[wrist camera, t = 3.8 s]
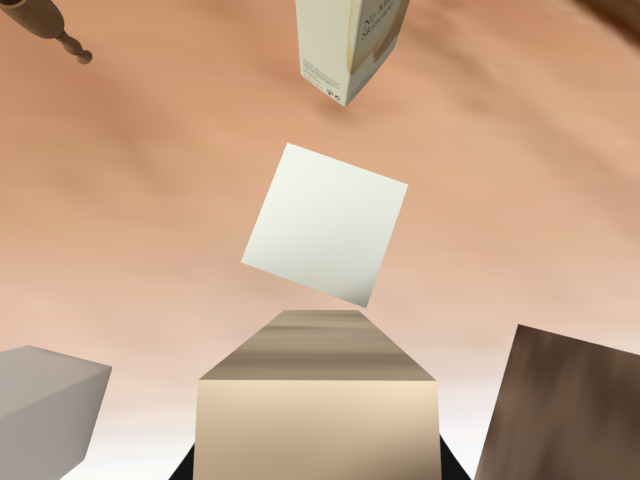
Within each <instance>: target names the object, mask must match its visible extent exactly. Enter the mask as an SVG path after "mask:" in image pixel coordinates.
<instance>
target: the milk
mask: <svg viewBox="0 0 640 480" xmlns="http://www.w3.org/2000/svg"><path fill="white" fill-rule="evenodd" d="M111 371H112V366H108V365H104V364H100V363H97V362H93V361H89V360H85V359H81V358H77V357H73V356H69V355H65V354H61V353H57V352H54V351H50V350H46V349H42V348H38V347H34V346H30V345H27V346H22V347H18V348H14V349H10V350H6V351H2V352H0V480H60V479H61V478H62V477H64V476H65V475H66V474H67V473H69V472H70V471H71V470H72V469H74V468H75V467H76V466H77V465H79V464H80V463H81V462H82V461H83V460H84V459H85V456H86V453H87V450H88V447H89V443H90V440H91V437H92V433H93V430H94V427H95V424H96V420H97V417H98V414H99V410H100V407H101V404H102V401H103V397H104V394H105V391H106V387H107V384H108V381H109V378H110V374H111Z"/></svg>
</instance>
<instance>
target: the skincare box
mask: <svg viewBox="0 0 640 480" xmlns="http://www.w3.org/2000/svg"><path fill="white" fill-rule="evenodd" d="M409 2H410V0H296V15H297V28H298V42H299V56H300V69H301V75H302V76H303V77H304V78H306V79H307V80H308V81H309V82H311V83H312V84H313V85H315V86H316V87H317V88H318V89H320V90H321V91H323V92H324V93H325V94H327V95H328V96H329V97H331V98H332V99H334V100H335V101H337V102H338V103H340V104H341V105H343V106H347V105H348V104H349V103H350V102H351V101H352V100H353V99H354V98H355V97H356V95H357V94H358V93H359V92H360V91H361V90H362V88H363V87H364V86H365V85H366V84H367V83H368V81H369V80H370V79H371V78H372V77H373V75H374V74H375V73H376V72H377V70H378V69H379V68H380V66H381V65H382V64H383V63H384V61H385V60H386V59H387V57H388V56H389V55H390V53H391V52H392V51H393V49H394V48H395V45H396V42H397V39H398V36H399V32H400V29H401V26H402V23H403V20H404V17H405V14H406V11H407V8H408V5H409Z"/></svg>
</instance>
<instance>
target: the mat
mask: <svg viewBox="0 0 640 480" xmlns="http://www.w3.org/2000/svg"><path fill="white" fill-rule="evenodd" d="M407 187H408V184H405V183H402V182H399V181H396V180H394V179H391V178H388V177H385V176H382V175H379V174H376V173H373V172H371V171H368V170H365V169H362V168H359V167H356V166H353V165H351V164H348V163H345V162H342V161H339V160H336V159H333V158H331V157H328V156H325V155H322V154H319V153H316V152H313V151H311V150H308V149H305V148H302V147H299V146H296V145H293V144H290V143H288V142H287V145H286V147H285V150H284V152H283V155H282V157H281V160H280V163H279V165H278V168H277V170H276V173H275V175H274V178H273V180H272V183H271V186H270V188H269V191H268V193H267V196H266V198H265V201H264V203H263V206H262V209H261V211H260V214H259V216H258V219H257V221H256V224H255V226H254V229H253V232H252V234H251V237H250V239H249V242H248V244H247V247H246V249H245V252H244V255H243V257H242V260H241V263H244V264H247V265H249V266H252V267H255V268H258V269H260V270H263V271H266V272H269V273H271V274H274V275H277V276H279V277H282V278H285V279H288V280H290V281H293V282H296V283H298V284H301V285H304V286H307V287H309V288H312V289H315V290H317V291H320V292H323V293H326V294H328V295H331V296H334V297H336V298H339V299H342V300H345V301H347V302H350V303H353V304H356V305H358V306H361V307H364V308H367V305H368V302H369V299H370V296H371V293H372V290H373V287H374V284H375V281H376V278H377V275H378V272H379V269H380V267H381V264H382V261H383V258H384V255H385V252H386V249H387V246H388V243H389V240H390V237H391V234H392V231H393V228H394V225H395V222H396V219H397V217H398V214H399V211H400V208H401V205H402V202H403V199H404V196H405V193H406V190H407Z"/></svg>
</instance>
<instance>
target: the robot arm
mask: <svg viewBox="0 0 640 480" xmlns="http://www.w3.org/2000/svg"><path fill="white" fill-rule="evenodd" d="M439 434H440V433H439ZM194 450H195V442H194V444H193V445H192V447H191V449H190V450H189V452H188V453H187V455H186V456H185V457H184V459H183V460H182V462H181V463H180V464H179V466H178V467H177V469H176V470H175V471H174V472H173V474H172V475H171V476H170V478H169V479H168V480H193V469H194ZM440 456H441V477H442V480H472V479H471V478H470V477H469V475H468V474H467V473H466V471H465V470H464V469H463V467H462V466H461V465H460V463H459V462H458V460H457V459H456V458H455V456H454V455H453V453H452V452H451V450H450V449H449V447H448V446H447V444H446V443H445V441H444V440H443V438H442V436H441V435H440Z"/></svg>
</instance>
